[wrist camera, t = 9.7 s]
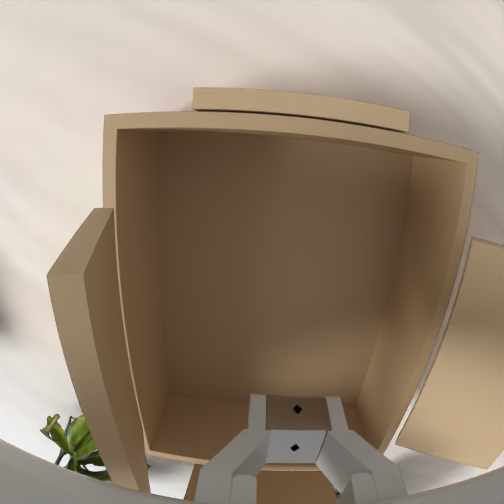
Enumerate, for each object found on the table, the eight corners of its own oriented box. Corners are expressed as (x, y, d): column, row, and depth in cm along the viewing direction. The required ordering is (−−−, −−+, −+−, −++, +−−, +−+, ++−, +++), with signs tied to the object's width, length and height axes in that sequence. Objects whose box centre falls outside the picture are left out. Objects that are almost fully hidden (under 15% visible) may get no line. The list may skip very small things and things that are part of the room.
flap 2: (472, 240, 11) (591, 276, 8) (471, 236, 12) (585, 271, 8) (395, 444, 15) (487, 469, 11) (398, 435, 15) (488, 460, 12)
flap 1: (93, 208, 11) (46, 275, 5) (113, 207, 11) (83, 273, 6) (128, 428, 15) (138, 529, 9) (142, 428, 15) (157, 528, 9)
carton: (154, 107, 16) (104, 92, 10) (421, 132, 16) (481, 132, 10) (163, 395, 23) (141, 454, 17) (359, 407, 22) (376, 467, 17)
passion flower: (145, 425, 31) (116, 512, 24) (57, 383, 28) (24, 474, 21) (182, 437, 23) (144, 553, 16) (58, 382, 19) (15, 509, 12)
